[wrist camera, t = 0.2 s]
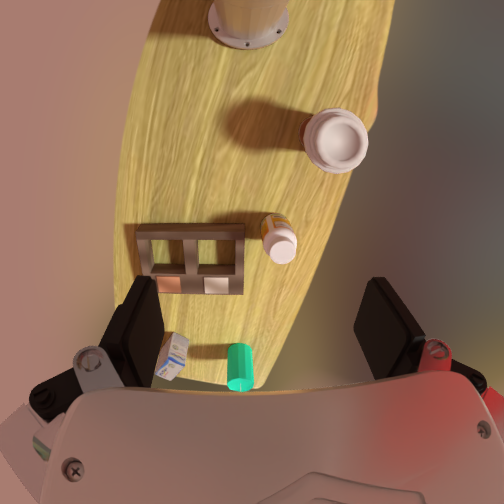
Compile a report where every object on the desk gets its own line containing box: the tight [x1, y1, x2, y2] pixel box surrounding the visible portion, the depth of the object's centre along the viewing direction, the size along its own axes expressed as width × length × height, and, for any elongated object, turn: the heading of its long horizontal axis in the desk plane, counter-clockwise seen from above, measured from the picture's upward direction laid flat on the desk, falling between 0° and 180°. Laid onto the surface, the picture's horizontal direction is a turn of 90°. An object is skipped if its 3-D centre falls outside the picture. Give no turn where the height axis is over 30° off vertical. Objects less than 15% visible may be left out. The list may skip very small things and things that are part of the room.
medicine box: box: [155, 332, 189, 381], centre depth 59 cm, size 8×4×9 cm, turn 144°
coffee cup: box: [298, 108, 368, 174], centre depth 36 cm, size 9×9×12 cm
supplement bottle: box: [260, 213, 297, 264], centre depth 45 cm, size 5×5×10 cm
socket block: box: [135, 223, 245, 295], centre depth 50 cm, size 13×19×4 cm
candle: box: [227, 343, 254, 392], centre depth 60 cm, size 6×6×12 cm
